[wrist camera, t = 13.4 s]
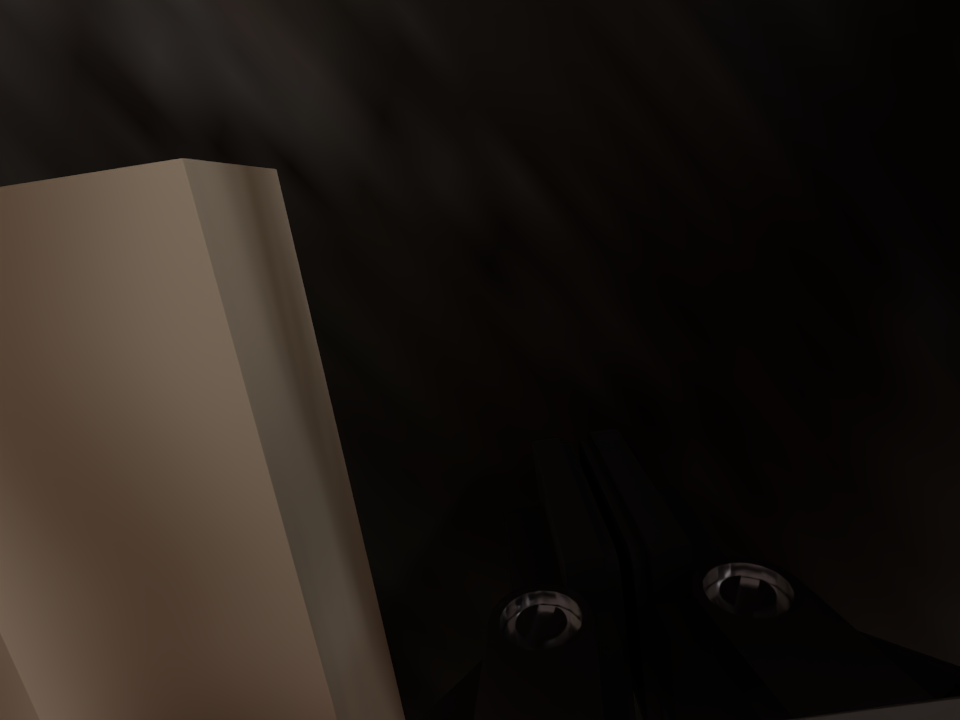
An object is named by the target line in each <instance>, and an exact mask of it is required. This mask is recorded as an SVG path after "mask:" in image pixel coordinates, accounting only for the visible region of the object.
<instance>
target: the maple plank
mask: <svg viewBox="0 0 960 720" xmlns="http://www.w3.org/2000/svg"><path fill="white" fill-rule="evenodd" d="M0 720H405V716H404V712H403V708H402V703H401V699H400V695H399V691H398V686H397V682H396V678H395V674H394V669H393V665H392V661H391V657H390V652H389V648H388V644H387V639H386V635H385V631H384V627H383V622H382V618H381V614H380V610H379V605H378V601H377V597H376V593H375V588H374V584H373V580H372V575H371V571H370V567H369V563H368V558H367V554H366V550H365V546H364V541H363V537H362V533H361V529H360V524H359V520H358V516H357V512H356V507H355V503H354V499H353V494H352V490H351V486H350V482H349V477H348V473H347V469H346V465H345V460H344V456H343V452H342V448H341V443H340V439H339V435H338V430H337V426H336V422H335V418H334V413H333V409H332V405H331V401H330V396H329V392H328V388H327V384H326V379H325V375H324V371H323V366H322V362H321V358H320V354H319V349H318V345H317V341H316V337H315V332H314V328H313V324H312V320H311V315H310V311H309V307H308V303H307V298H306V294H305V290H304V285H303V281H302V277H301V273H300V268H299V264H298V260H297V256H296V251H295V247H294V243H293V239H292V234H291V230H290V226H289V221H288V217H287V213H286V209H285V204H284V200H283V196H282V192H281V187H280V183H279V179H278V175H277V170H276V169H269V168H261V167H252V166H244V165H235V164H227V163H219V162H210V161H202V160H193V159H185V158H181V159H174V160H168V161H162V162H156V163H149V164H143V165H137V166H130V167H124V168H118V169H111V170H105V171H99V172H92V173H86V174H80V175H73V176H67V177H61V178H54V179H48V180H42V181H35V182H29V183H23V184H17V185H10V186H4V187H0Z"/></svg>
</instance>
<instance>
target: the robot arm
mask: <svg viewBox="0 0 960 720" xmlns="http://www.w3.org/2000/svg"><path fill="white" fill-rule="evenodd" d="M532 450H533V457H534V464H535V472H536V479H537V486H538V493H539V500H540V506H534V507H527V508H521V509H514V510H507V511H504V520H505V528H506V537H507V546H508V554H509V563H510V571H511V580H512V589H513V592H511V593H510V594H508V595H507V596H505V597H504V598H502V599H501V600H500V601H499V603H498V604H497V605H496V606H495V607H494V608H493V610H492V613H491V616H490V618H489V622H488V629H487V635H486V642H485V648H484V655H483V660H482V661H481V662H480V663H479V664H478V665H477V666H476V667H475V668H474V669H473V670H471V671H470V672H469V673H468V674H467V675H466V676H465V677H464V678H463V679H462V680H461V681H460V682H459V683H458V684H457V685H456V686H455V687H453V688H452V689H451V690H450V691H449V692H448V693H447V694H446V695H445V696H444V697H443V698H442V699H441V700H440V701H439V702H438V703H437V704H435V705H434V706H433V707H432V708H431V709H430V710H429V711H428V712H427V713H426V714H425V715H424V716H423V717H422V718H421V719H420V720H636V718H635V708H634V698H633V690H634V693H635V696H636V699H637V702H638V705H639V708H640V711H641V714H642V717H643V720H960V667H959V666H957V665H954V664H951V663H948V662H945V661H942V660H939V659H937V658H934V657H931V656H928V655H925V654H922V653H919V652H917V651H914V650H911V649H908V648H905V647H902V646H899V645H897V644H894V643H891V642H888V641H885V640H882V639H880V638H877V637H874V636H871V635H868V634H865V633H862V632H860V631H857V630H856V629H855V628H854V627H853V626H852V625H850V624H849V623H848V622H847V621H846V620H845V619H844V618H842V617H841V616H840V615H839V614H838V613H837V612H836V611H834V610H833V609H832V608H831V607H830V606H829V605H828V604H826V603H825V602H824V601H823V600H822V599H821V598H820V597H818V596H817V595H816V594H815V593H814V592H813V591H812V590H811V589H809V588H808V587H807V586H806V585H805V584H804V583H803V582H801V581H800V580H799V579H798V578H797V577H796V576H794V575H793V574H791V573H790V572H788V571H787V570H786V569H784V568H783V567H780V566H778V565H776V564H773V563H771V562H768V561H765V560H761V559H756V558H752V557H739V556H731V557H725V555H724V554H723V552H722V551H721V550H720V548H719V547H718V546H717V544H716V543H715V541H714V540H713V539H712V537H711V536H710V534H709V533H708V532H707V530H706V529H705V527H704V526H703V525H702V523H701V522H700V520H699V519H698V518H697V516H696V515H695V513H694V512H693V511H692V509H691V508H690V506H689V505H688V504H687V502H686V501H685V499H684V498H683V497H682V495H681V494H680V492H679V491H678V490H677V489H676V488H675V487H674V486H669V487H663V488H656V489H655V487H654V485H653V484H652V482H651V481H650V479H649V478H648V476H647V474H646V473H645V471H644V470H643V468H642V467H641V465H640V464H639V462H638V460H637V459H636V457H635V456H634V454H633V453H632V451H631V450H630V448H629V446H628V445H627V443H626V442H625V440H624V439H623V437H622V436H621V434H620V432H619V431H618V430H617V428H614V429H608V430H601V431H594V432H589V433H588V440H584V441H579V453H580V461H581V465H580V462H579V460H578V458H577V455H576V453H575V451H574V448H573V446H572V444H571V442H570V443H564V444H562V443H561V441H560V438H559V437H554V438H548V439H541V440H534V441H532ZM632 687H633V688H632Z"/></svg>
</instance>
